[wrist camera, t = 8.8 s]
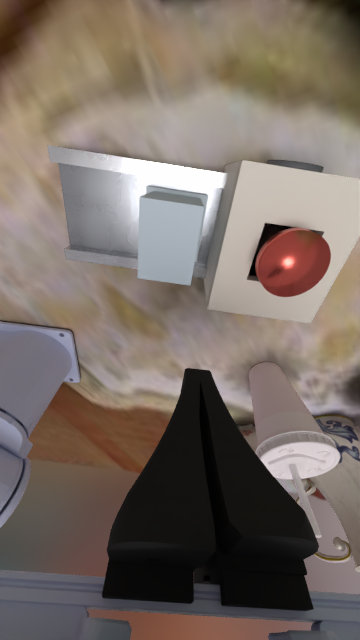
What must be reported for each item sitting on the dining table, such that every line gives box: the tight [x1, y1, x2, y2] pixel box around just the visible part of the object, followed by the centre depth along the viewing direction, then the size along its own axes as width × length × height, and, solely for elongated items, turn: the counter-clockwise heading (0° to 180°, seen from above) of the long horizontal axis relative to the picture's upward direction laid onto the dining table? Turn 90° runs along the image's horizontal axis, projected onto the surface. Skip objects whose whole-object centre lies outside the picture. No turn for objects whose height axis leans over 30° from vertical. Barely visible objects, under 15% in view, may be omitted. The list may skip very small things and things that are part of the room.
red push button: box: [254, 225, 331, 297], centre depth 13 cm, size 3×3×5 cm
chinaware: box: [239, 415, 360, 572], centre depth 24 cm, size 28×17×17 cm, turn 135°
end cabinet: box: [203, 160, 360, 323], centre depth 15 cm, size 7×8×6 cm
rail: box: [47, 145, 227, 279], centre depth 16 cm, size 11×7×2 cm, turn 83°
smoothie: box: [249, 362, 340, 538], centre depth 20 cm, size 6×6×14 cm
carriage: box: [137, 185, 208, 286], centre depth 14 cm, size 4×4×6 cm
